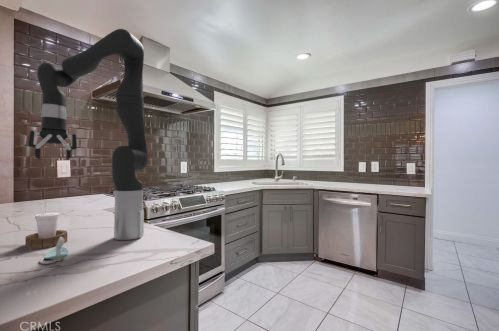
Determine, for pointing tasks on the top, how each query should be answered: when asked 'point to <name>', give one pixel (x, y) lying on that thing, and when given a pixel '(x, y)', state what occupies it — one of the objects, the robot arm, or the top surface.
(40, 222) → the smoothie
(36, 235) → the brown polygonal ring
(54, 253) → the pacifier
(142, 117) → the robot arm
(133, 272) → the top surface
